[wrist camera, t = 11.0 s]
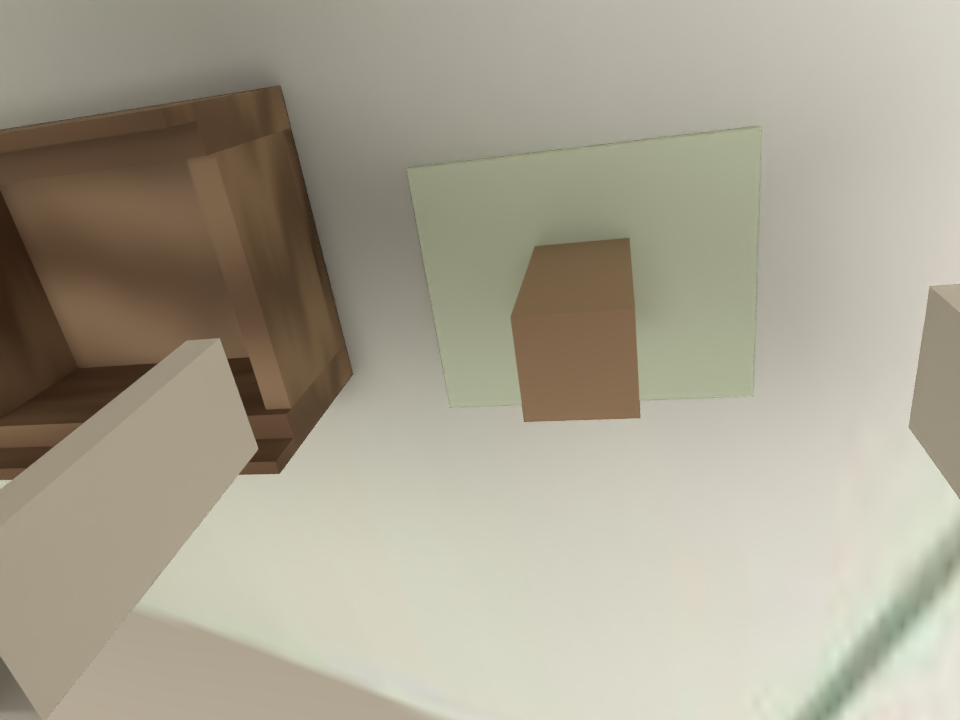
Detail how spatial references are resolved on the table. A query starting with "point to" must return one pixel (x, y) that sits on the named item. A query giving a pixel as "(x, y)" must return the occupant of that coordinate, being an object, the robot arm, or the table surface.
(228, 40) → the table surface
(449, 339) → the lid
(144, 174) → the walnut box
